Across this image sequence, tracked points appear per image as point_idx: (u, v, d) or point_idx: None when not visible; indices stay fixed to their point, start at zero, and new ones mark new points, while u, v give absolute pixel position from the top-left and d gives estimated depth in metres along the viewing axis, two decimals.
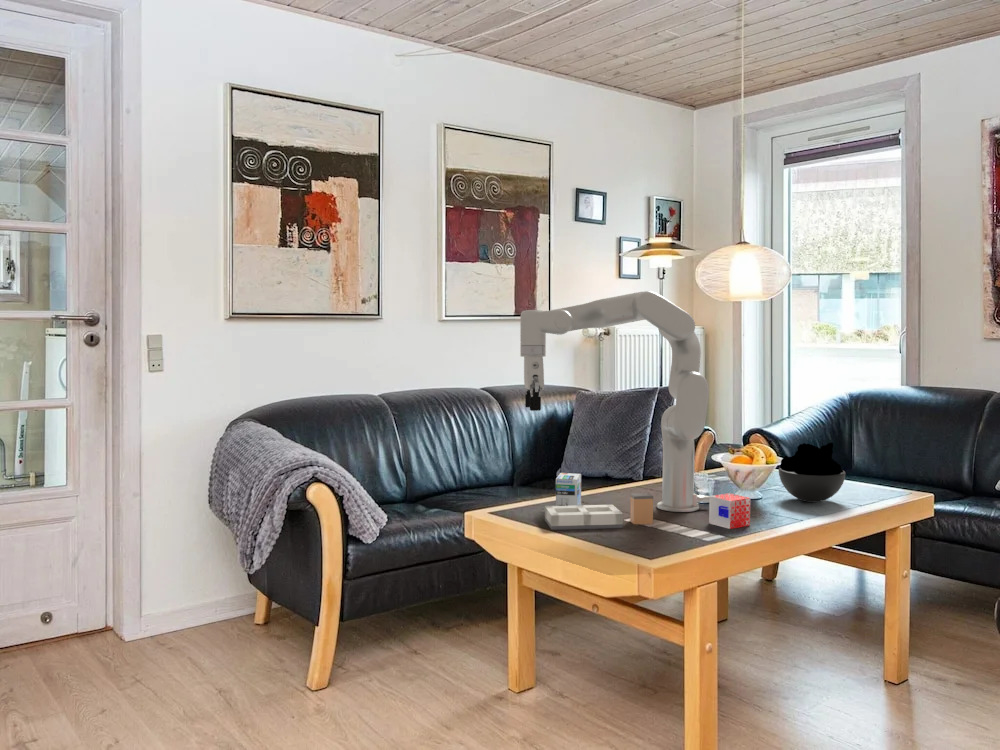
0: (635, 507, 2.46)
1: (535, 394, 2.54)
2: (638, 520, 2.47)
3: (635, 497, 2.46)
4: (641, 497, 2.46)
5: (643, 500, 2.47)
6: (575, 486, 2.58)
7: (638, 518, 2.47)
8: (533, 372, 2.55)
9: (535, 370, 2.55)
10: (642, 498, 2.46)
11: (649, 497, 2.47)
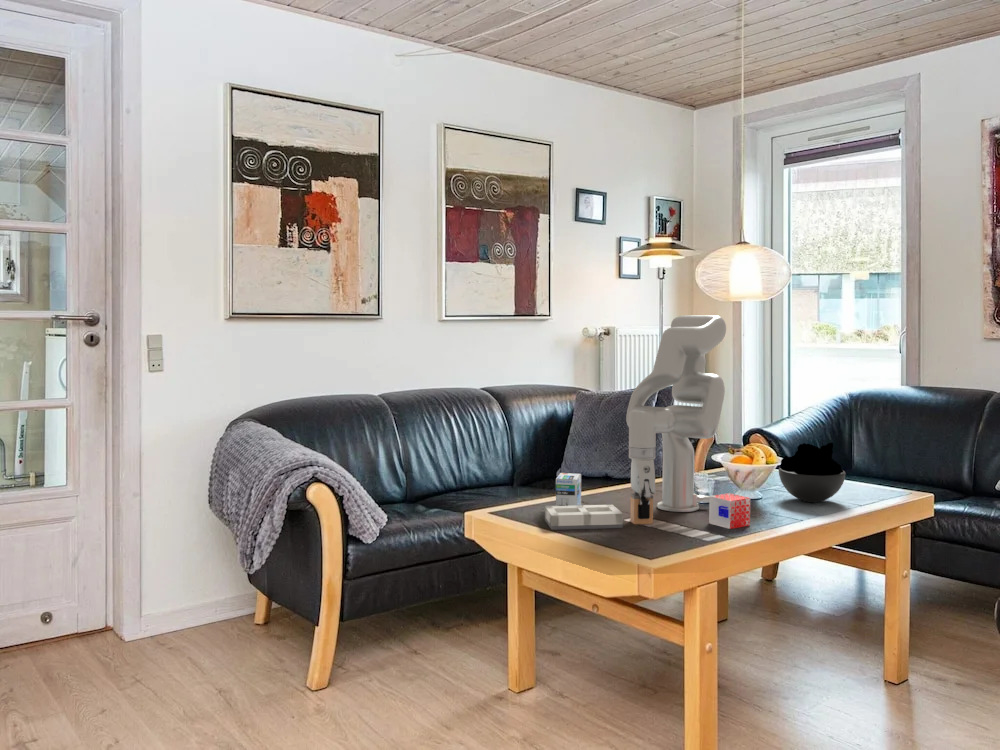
0: (635, 507, 2.46)
1: (644, 502, 2.44)
2: (638, 520, 2.47)
3: (635, 497, 2.46)
4: None
5: None
6: (575, 486, 2.58)
7: (638, 518, 2.47)
8: (645, 477, 2.43)
9: (646, 474, 2.43)
10: None
11: None
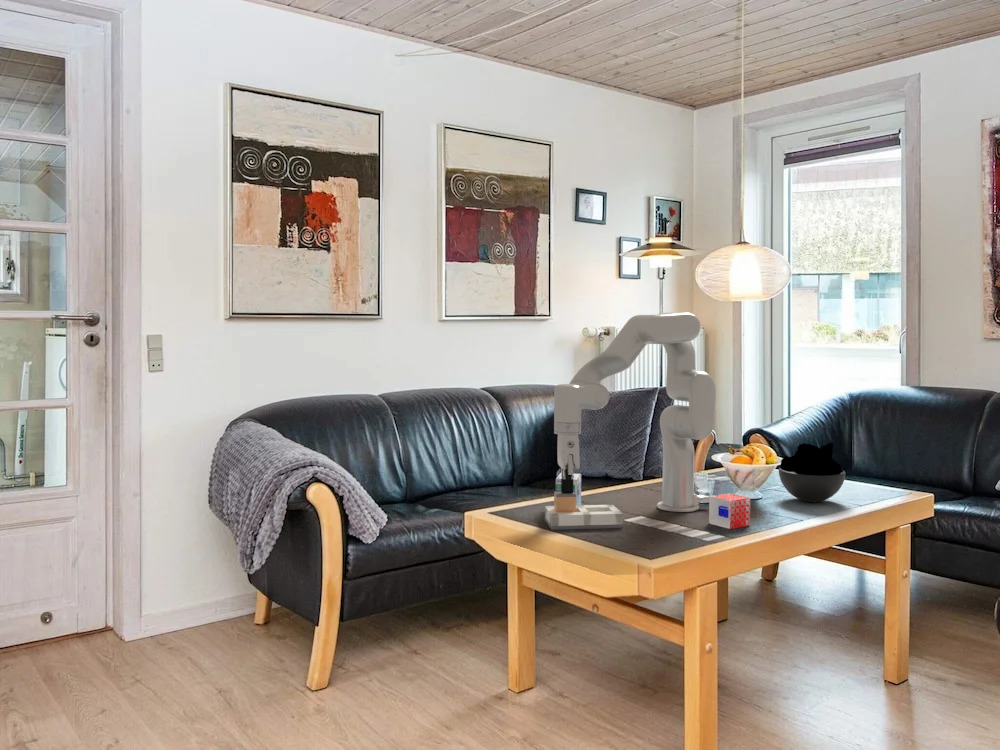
0: (557, 505, 2.44)
1: (568, 477, 2.44)
2: None
3: (557, 495, 2.44)
4: (564, 495, 2.44)
5: (565, 498, 2.44)
6: (575, 486, 2.58)
7: None
8: (569, 452, 2.40)
9: (570, 449, 2.40)
10: (565, 496, 2.44)
11: (572, 495, 2.44)
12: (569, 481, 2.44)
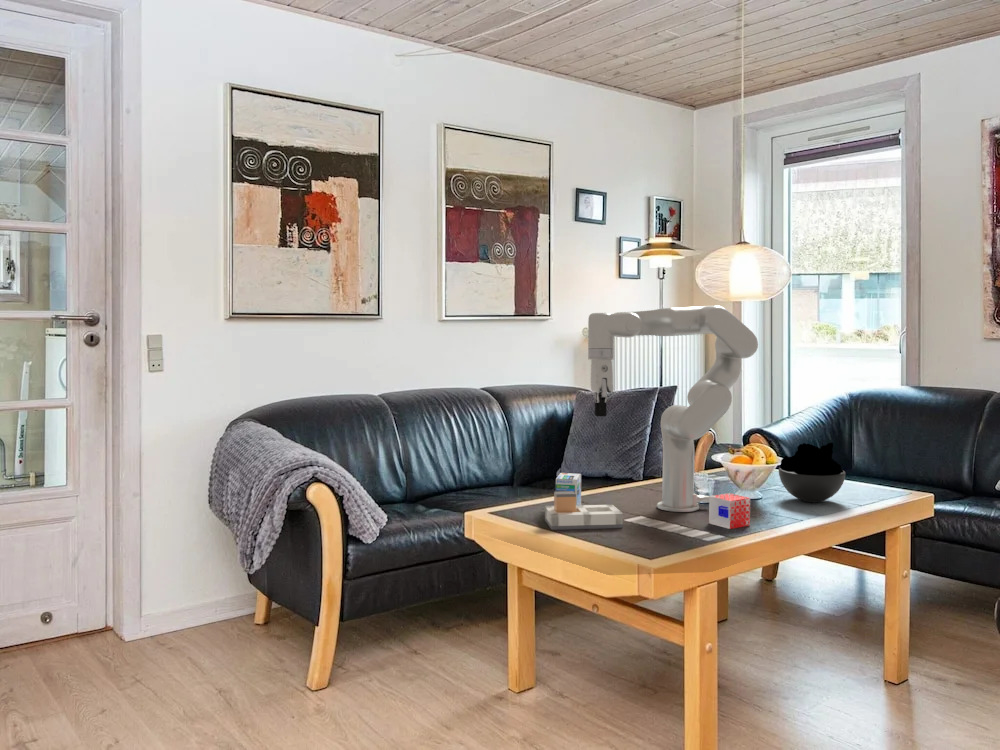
0: (557, 505, 2.44)
1: (601, 400, 2.57)
2: None
3: (557, 495, 2.44)
4: (564, 495, 2.44)
5: (565, 498, 2.44)
6: (575, 486, 2.58)
7: None
8: (603, 375, 2.54)
9: (604, 373, 2.54)
10: (565, 496, 2.44)
11: (572, 495, 2.44)
12: (602, 404, 2.58)
